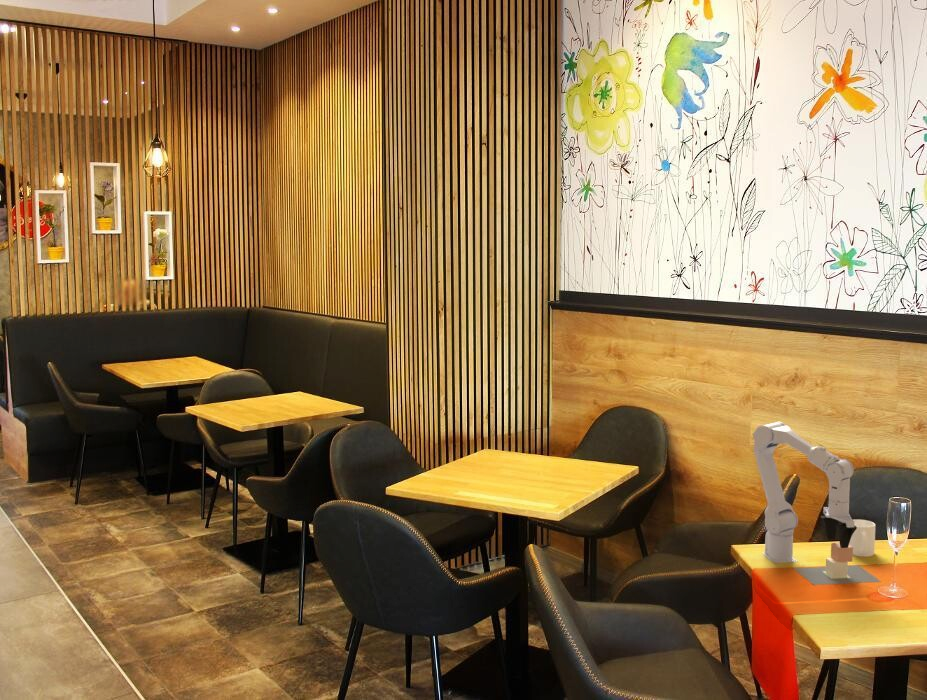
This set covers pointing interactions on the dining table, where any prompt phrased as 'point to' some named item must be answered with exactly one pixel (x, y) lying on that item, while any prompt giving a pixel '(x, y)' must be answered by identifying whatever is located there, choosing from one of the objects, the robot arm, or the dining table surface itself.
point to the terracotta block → (841, 553)
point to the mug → (863, 538)
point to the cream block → (836, 568)
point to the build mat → (821, 577)
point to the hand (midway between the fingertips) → (837, 543)
